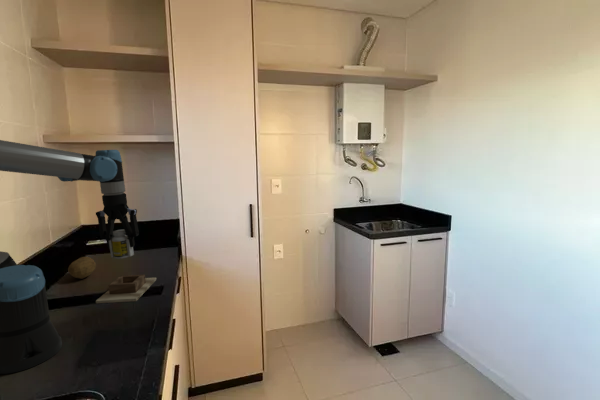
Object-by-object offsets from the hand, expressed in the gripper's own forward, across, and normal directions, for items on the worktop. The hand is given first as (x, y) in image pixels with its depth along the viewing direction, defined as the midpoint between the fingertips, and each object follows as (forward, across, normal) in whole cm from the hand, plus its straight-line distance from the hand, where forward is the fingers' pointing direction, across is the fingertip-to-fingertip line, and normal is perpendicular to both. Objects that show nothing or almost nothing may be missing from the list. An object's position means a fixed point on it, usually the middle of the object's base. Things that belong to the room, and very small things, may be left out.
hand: (122, 255), depth 120 cm
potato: (+16, +30, -22) cm, 40 cm away
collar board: (+16, +2, -4) cm, 16 cm away
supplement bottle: (+1, 0, 0) cm, 1 cm away
